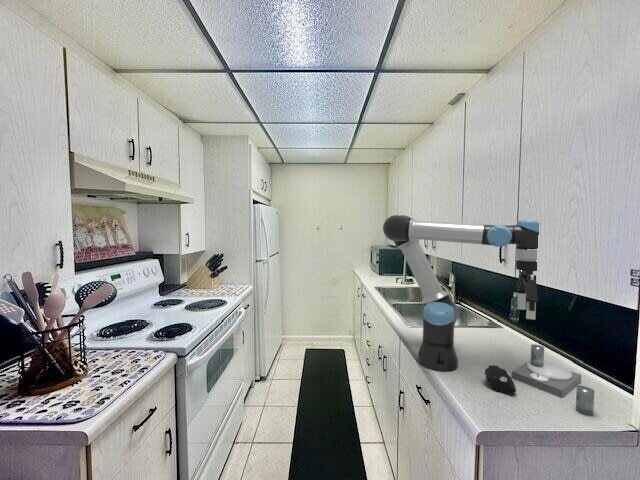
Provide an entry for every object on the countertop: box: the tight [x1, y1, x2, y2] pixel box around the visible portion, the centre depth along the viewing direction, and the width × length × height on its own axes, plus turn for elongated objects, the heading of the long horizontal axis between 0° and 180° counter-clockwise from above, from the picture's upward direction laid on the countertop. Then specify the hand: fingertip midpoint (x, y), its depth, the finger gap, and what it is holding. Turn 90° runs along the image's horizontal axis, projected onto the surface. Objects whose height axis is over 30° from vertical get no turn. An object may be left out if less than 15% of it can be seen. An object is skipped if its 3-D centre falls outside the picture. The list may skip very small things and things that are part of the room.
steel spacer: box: [575, 385, 595, 417], centre depth 90 cm, size 4×4×7 cm
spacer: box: [529, 343, 545, 367], centre depth 112 cm, size 4×4×7 cm
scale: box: [511, 360, 582, 399], centre depth 108 cm, size 18×15×4 cm
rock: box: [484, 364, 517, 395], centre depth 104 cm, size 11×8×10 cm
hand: (525, 313), depth 117 cm, fingers open, 13 cm apart
